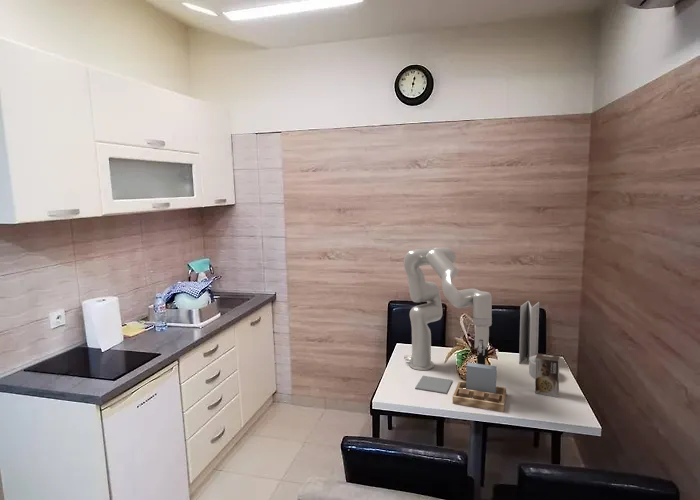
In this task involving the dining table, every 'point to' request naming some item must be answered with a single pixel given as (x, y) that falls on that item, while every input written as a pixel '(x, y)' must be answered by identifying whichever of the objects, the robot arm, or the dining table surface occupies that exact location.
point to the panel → (481, 377)
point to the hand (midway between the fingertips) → (482, 360)
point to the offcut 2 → (479, 395)
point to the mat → (434, 384)
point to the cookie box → (547, 375)
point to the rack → (480, 403)
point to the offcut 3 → (494, 398)
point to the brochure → (528, 330)
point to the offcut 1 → (464, 393)
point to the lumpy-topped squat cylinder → (532, 365)
